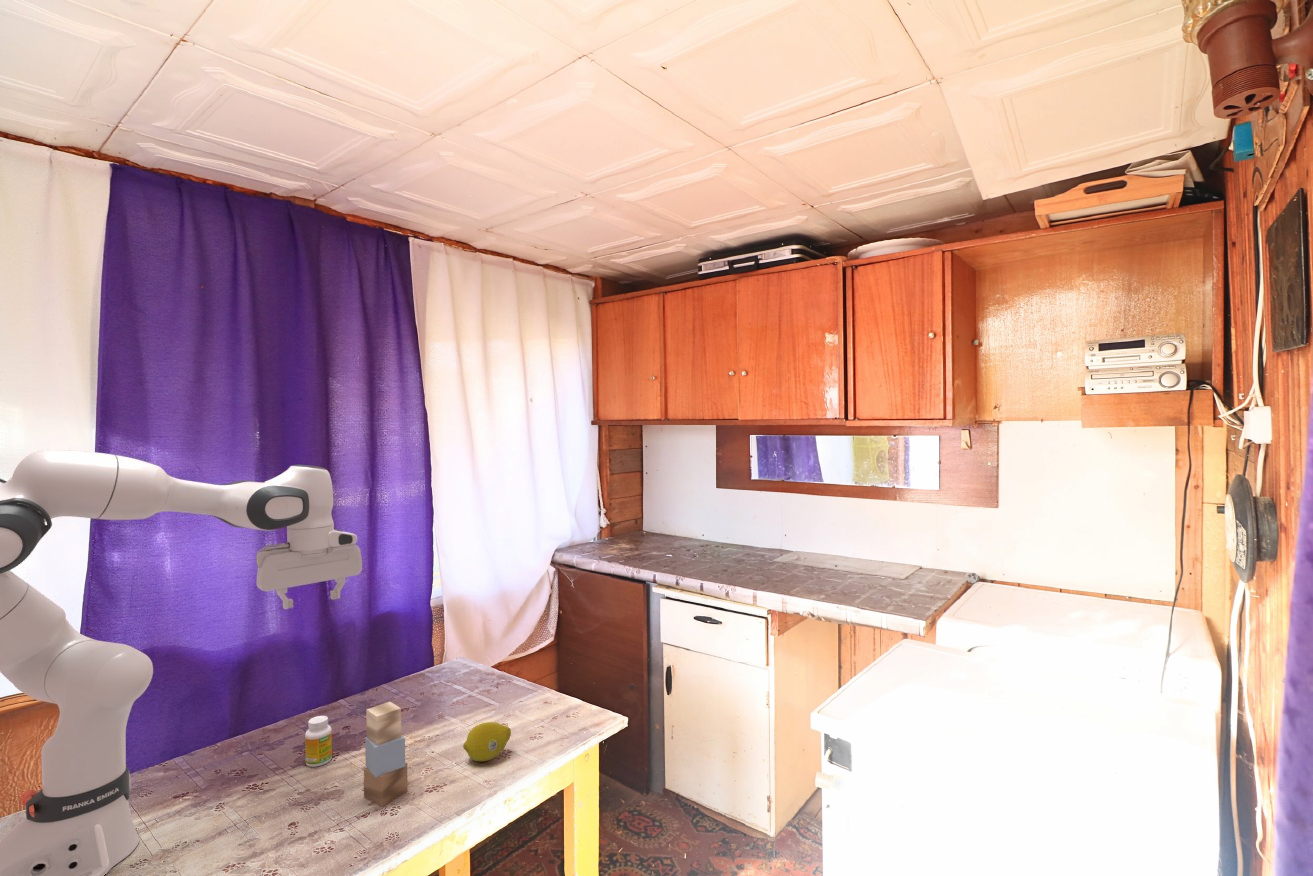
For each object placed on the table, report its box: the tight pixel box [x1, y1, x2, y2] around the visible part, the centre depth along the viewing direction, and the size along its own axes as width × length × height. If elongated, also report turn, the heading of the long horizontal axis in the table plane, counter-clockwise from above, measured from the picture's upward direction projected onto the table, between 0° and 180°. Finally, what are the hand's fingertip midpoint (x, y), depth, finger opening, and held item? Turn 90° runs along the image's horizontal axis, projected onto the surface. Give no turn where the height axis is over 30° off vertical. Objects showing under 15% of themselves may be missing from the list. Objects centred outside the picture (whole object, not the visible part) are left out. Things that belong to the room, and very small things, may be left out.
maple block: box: [365, 701, 402, 746], centre depth 130 cm, size 5×5×6 cm
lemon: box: [462, 721, 512, 763], centre depth 144 cm, size 11×8×8 cm
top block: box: [364, 734, 406, 777], centre depth 130 cm, size 6×6×6 cm
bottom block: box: [363, 762, 409, 807], centre depth 130 cm, size 6×6×6 cm
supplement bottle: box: [304, 715, 333, 768], centre depth 143 cm, size 5×5×10 cm
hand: (312, 603), depth 134 cm, fingers open, 8 cm apart
